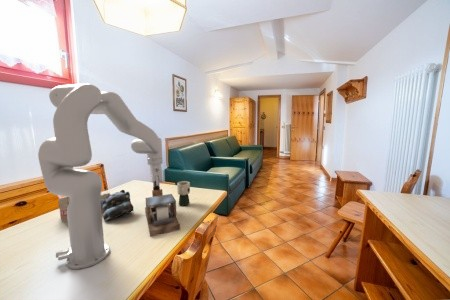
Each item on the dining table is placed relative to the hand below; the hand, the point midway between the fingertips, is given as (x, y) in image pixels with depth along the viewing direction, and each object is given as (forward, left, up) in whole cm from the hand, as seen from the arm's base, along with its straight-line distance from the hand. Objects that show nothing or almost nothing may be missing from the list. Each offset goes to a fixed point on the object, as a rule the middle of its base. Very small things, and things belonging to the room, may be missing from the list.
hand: (156, 194), depth 106 cm
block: (0, -18, -6) cm, 19 cm away
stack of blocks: (-34, +12, -9) cm, 37 cm away
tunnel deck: (0, -14, -9) cm, 16 cm away
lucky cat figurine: (-20, +2, -9) cm, 22 cm away
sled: (0, -13, -6) cm, 14 cm away
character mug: (+15, +1, -9) cm, 18 cm away
